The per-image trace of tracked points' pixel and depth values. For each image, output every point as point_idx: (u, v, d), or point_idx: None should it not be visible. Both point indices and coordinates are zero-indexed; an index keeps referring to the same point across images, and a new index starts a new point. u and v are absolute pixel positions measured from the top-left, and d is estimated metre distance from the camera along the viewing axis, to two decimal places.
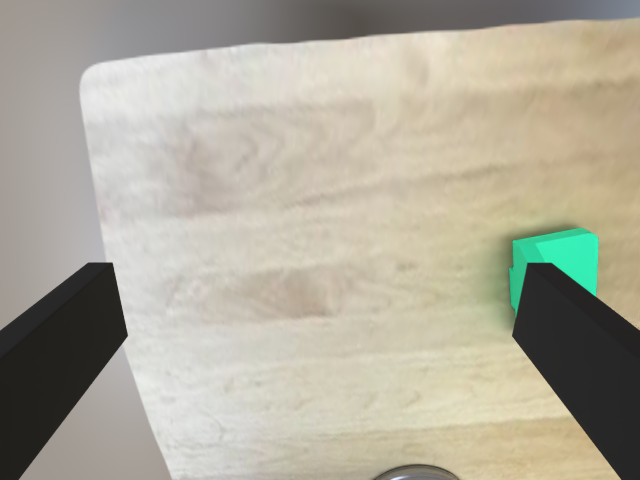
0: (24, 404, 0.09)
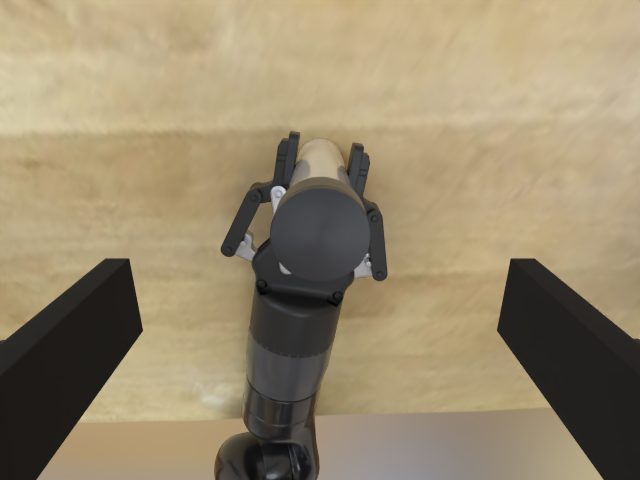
0: (50, 394, 0.09)
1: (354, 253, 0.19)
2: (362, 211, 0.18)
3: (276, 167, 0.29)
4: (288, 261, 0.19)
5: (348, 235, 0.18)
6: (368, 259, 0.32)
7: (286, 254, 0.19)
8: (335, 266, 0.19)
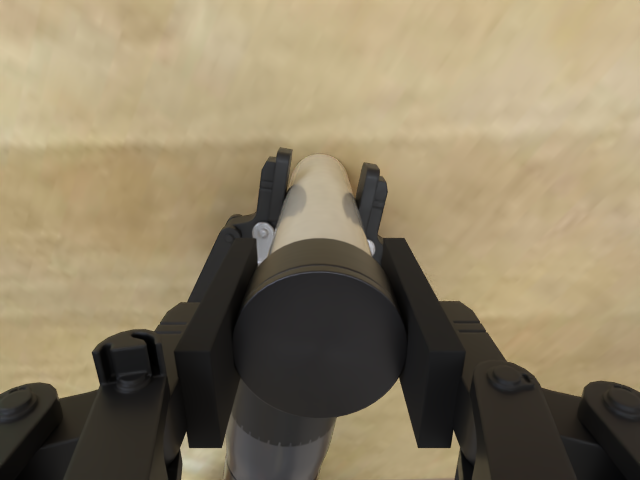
0: None
1: (378, 376, 0.11)
2: (394, 310, 0.10)
3: (260, 197, 0.21)
4: (264, 388, 0.11)
5: (368, 348, 0.10)
6: None
7: (260, 377, 0.11)
8: (345, 395, 0.11)
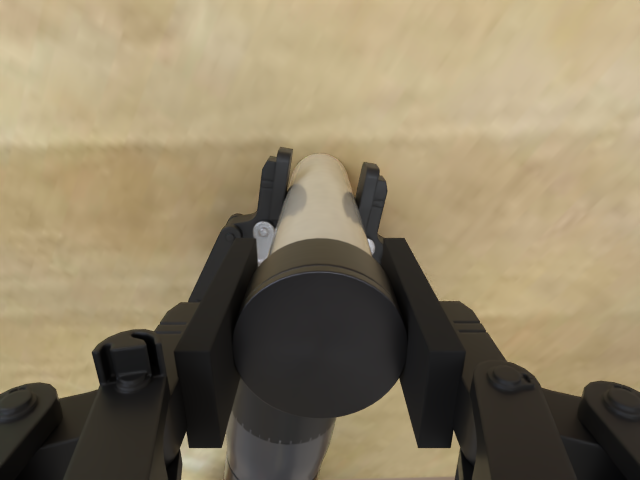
0: None
1: (346, 296, 0.10)
2: (262, 292, 0.10)
3: (260, 196, 0.22)
4: (369, 393, 0.11)
5: (312, 308, 0.10)
6: None
7: (356, 396, 0.11)
8: (375, 324, 0.10)
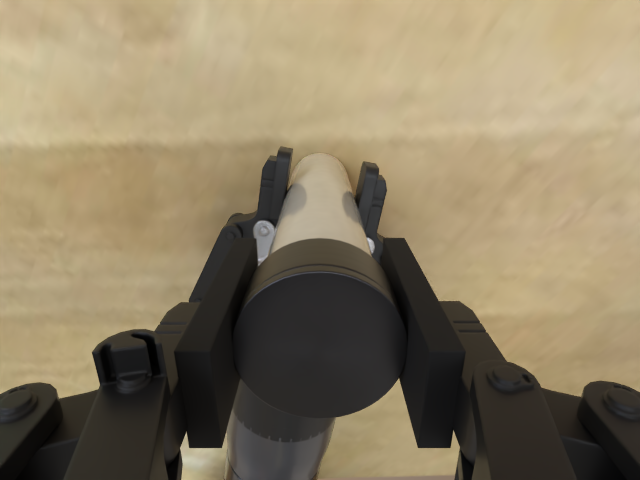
0: None
1: (253, 335, 0.10)
2: (261, 398, 0.11)
3: (260, 195, 0.22)
4: (370, 301, 0.10)
5: (272, 360, 0.11)
6: None
7: (375, 313, 0.10)
8: (280, 307, 0.10)
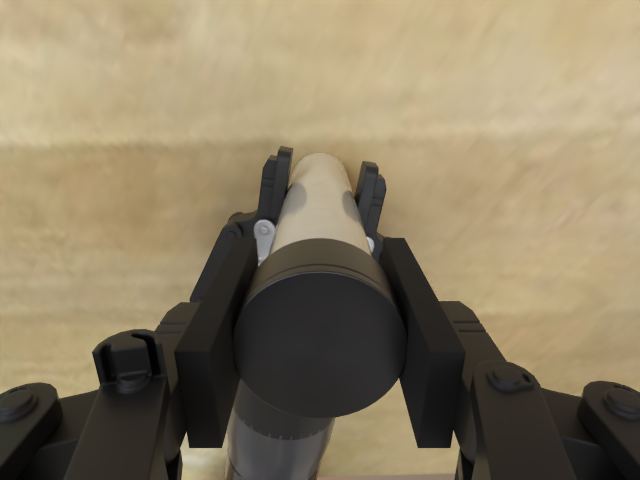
0: None
1: (307, 403, 0.11)
2: (381, 395, 0.11)
3: (261, 195, 0.22)
4: (256, 314, 0.10)
5: (335, 387, 0.11)
6: None
7: (269, 308, 0.10)
8: (274, 384, 0.11)
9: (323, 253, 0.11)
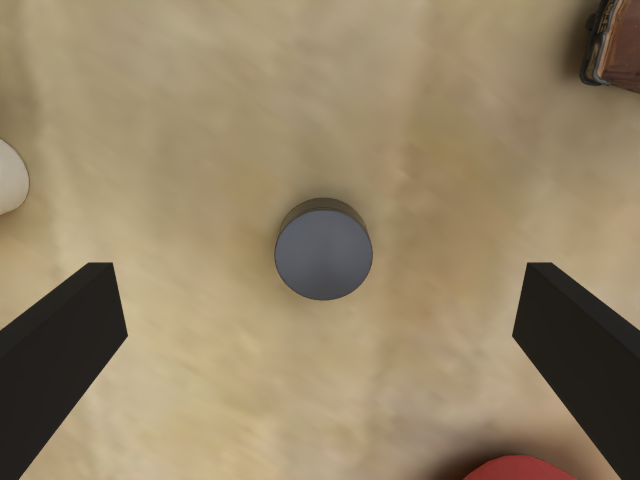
0: (24, 404, 0.09)
1: (316, 290, 0.19)
2: (358, 285, 0.19)
3: None
4: (289, 234, 0.18)
5: (332, 280, 0.19)
6: None
7: (296, 231, 0.18)
8: (298, 277, 0.19)
9: (325, 203, 0.19)
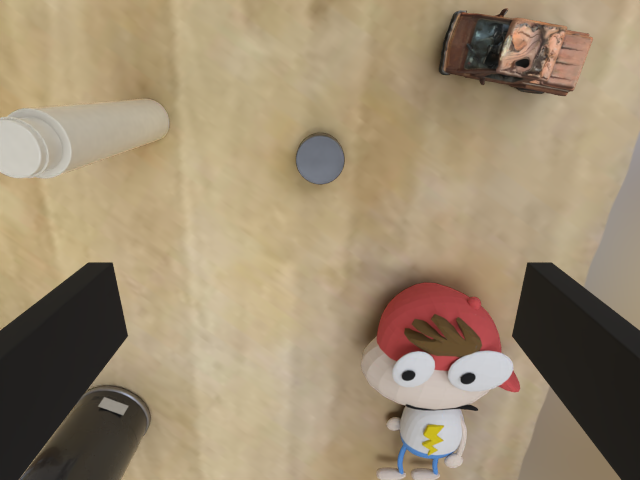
0: (24, 404, 0.09)
1: (316, 178, 0.39)
2: (337, 175, 0.39)
3: None
4: (303, 148, 0.38)
5: (324, 173, 0.39)
6: None
7: (306, 146, 0.38)
8: (307, 171, 0.38)
9: (321, 134, 0.38)
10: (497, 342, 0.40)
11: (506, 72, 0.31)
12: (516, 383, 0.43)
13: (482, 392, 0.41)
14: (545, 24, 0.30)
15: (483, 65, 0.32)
